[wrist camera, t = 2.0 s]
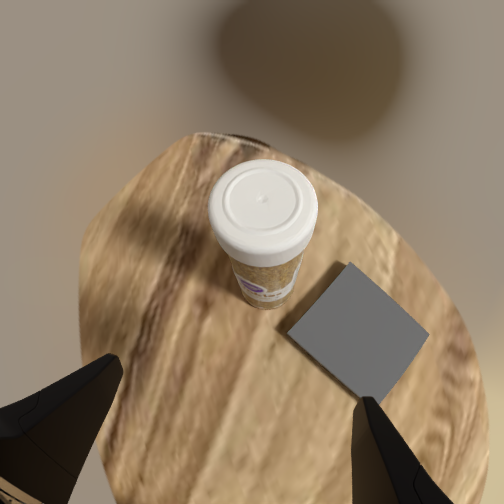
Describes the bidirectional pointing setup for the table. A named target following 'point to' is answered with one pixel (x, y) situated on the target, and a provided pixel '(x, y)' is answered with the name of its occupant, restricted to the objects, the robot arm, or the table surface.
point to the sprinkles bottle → (264, 226)
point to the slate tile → (359, 335)
